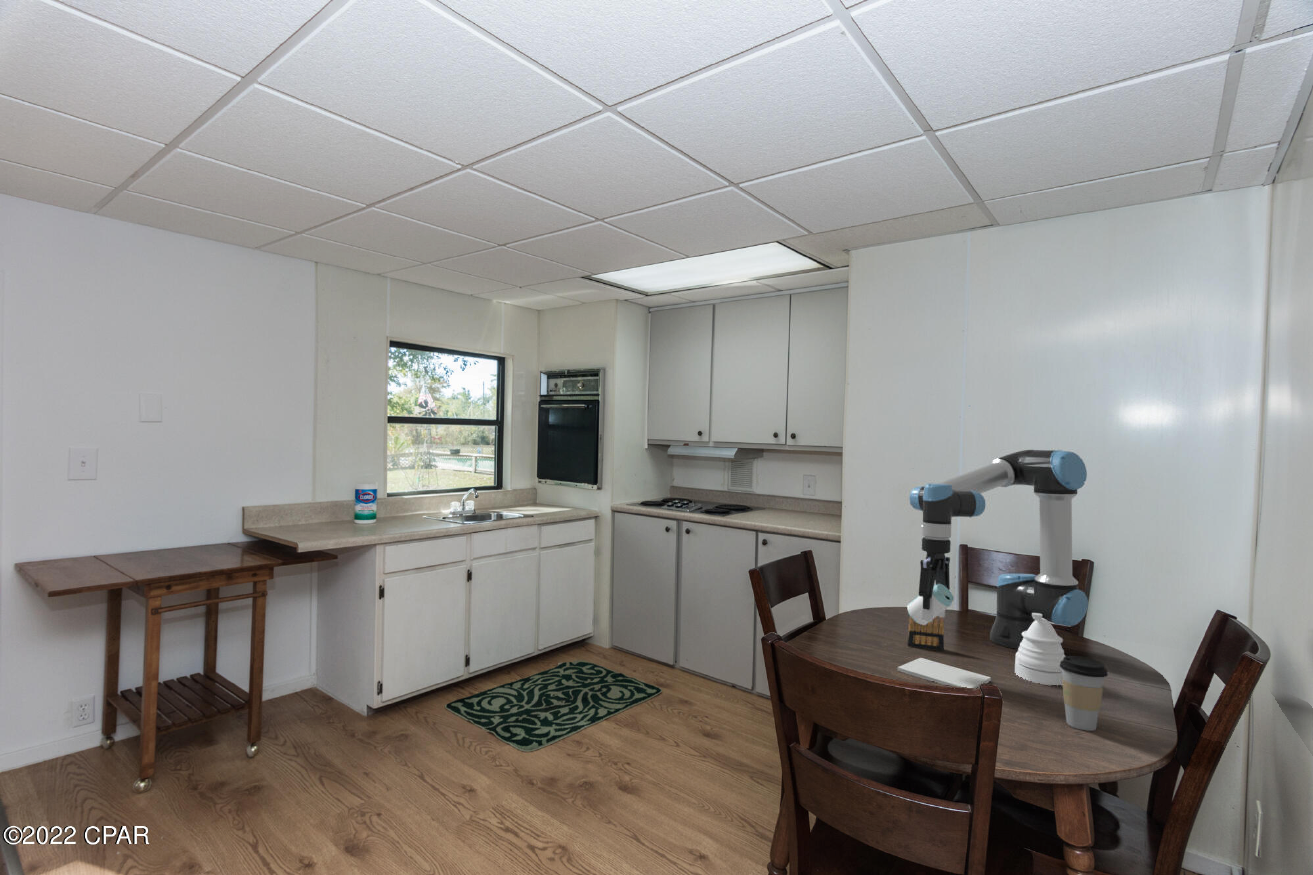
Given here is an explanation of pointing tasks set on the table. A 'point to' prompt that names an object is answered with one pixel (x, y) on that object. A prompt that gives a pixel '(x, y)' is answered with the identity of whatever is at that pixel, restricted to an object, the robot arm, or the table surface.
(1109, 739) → the table surface
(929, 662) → the mat
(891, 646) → the table surface
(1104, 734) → the table surface
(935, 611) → the can
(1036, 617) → the honey pot
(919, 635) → the ammunition clip
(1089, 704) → the coffee cup
